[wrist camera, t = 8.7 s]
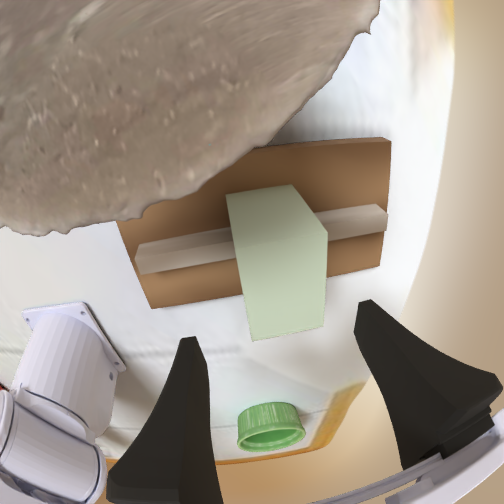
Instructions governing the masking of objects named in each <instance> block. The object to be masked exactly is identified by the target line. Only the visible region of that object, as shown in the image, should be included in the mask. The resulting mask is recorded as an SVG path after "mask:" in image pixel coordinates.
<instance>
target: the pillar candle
mask: <svg viewBox="0 0 504 504" xmlns="http://www.w3.org/2000/svg"><path fill="white" fill-rule="evenodd" d="M379 8H380V0H0V228H2V227H4V226H6V227H9V228H10V229H11V230H12V231H14V232H18V233H20V234H22V235H32V236H37V237H40V236H46V235H47V234H49V233H50V232H51V231H58V232H59V233H61V234H68V233H69V232H70V230H71V229H73V228H77V227H85V226H89V225H92V224H99V223H105V222H111V221H116V220H118V221H125V222H127V221H129V220H131V219H141V218H142V217H143V212H144V211H145V210H146V209H147V208H148V207H149V206H151V205H154V204H158V203H160V202H162V201H166V200H178V199H181V198H183V197H185V196H187V195H190V194H192V193H195V192H197V191H198V190H199V189H200V188H201V187H202V186H203V185H204V184H205V183H206V182H207V181H208V180H209V179H211V178H213V177H214V176H215V175H217V174H218V173H219V172H221V171H223V170H225V169H227V168H228V167H230V166H232V165H233V164H234V163H235V162H237V161H238V160H239V159H240V158H241V157H243V156H244V155H245V154H247V153H248V152H249V151H251V150H252V149H253V148H255V147H258V146H259V147H264V146H266V145H267V144H268V143H269V142H270V141H271V140H272V139H273V138H274V136H275V135H276V134H277V133H278V132H279V130H280V129H281V128H283V126H284V125H285V124H286V123H287V122H288V121H289V120H290V119H291V118H292V117H293V116H294V115H295V114H296V113H297V112H299V111H300V110H301V109H302V108H303V106H304V105H305V104H306V102H307V101H308V100H309V99H310V98H311V97H313V96H314V95H315V94H316V93H317V92H318V90H320V89H322V88H323V86H324V85H325V84H326V83H327V82H329V81H330V80H331V79H332V75H333V74H334V72H335V71H336V69H337V68H338V66H339V63H340V62H341V61H342V59H343V58H344V56H345V54H346V53H347V51H348V50H349V48H350V45H351V43H352V41H353V39H354V37H355V36H356V35H358V34H360V33H364V32H366V33H368V34H370V35H371V33H370V24H371V22H372V20H373V19H374V18H375V17H376V16H377V15H378V14H379Z"/></svg>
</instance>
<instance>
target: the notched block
mask: <svg viewBox="0 0 504 504" xmlns="http://www.w3.org/2000/svg"><path fill="white" fill-rule="evenodd" d="M226 201H227V207H228V213H229V218H230V224H231V230H232V236H233V241H234V247H235V253H236V258H237V264H238V269H239V275H240V280H241V285H242V291H243V296H244V302H245V307H246V312H247V317H248V323H249V328H250V333H251V338H252V341H257V340H262V339H268V338H273V337H278V336H282V335H287V334H292V333H296V332H301V331H305V330H310V329H314V328H318V327H323V324H324V309H325V293H326V272H327V240H328V232H327V231H326V229H325V228H324V227H323V225H322V224H321V223H320V221H319V220H318V218H317V217H316V216H315V214H314V213H313V212H312V210H311V209H310V208H309V206H308V205H307V204H306V202H305V201H304V200H303V198H302V197H301V196H300V194H299V193H298V192H297V190H296V189H295V188H294V186H293V185H292V184H289V185H282V186H275V187H268V188H262V189H256V190H250V191H244V192H238V193H232V194H226Z"/></svg>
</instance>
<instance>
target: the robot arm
mask: <svg viewBox="0 0 504 504" xmlns="http://www.w3.org/2000/svg"><path fill="white" fill-rule="evenodd" d="M84 312H85V313H84ZM21 315H22V317H23V318H24V320H25V321H26V323H27V324H28V326H29V327H30V328H31V330H32V331H33V332H32V334H31V336H30V339H29V341H28V343H27V346H26V348H25V350H24V353H23V355H22V358H21V360H20V363H19V366H18V368H17V371H16V374H15V376H14V379H13V382H12V385H11V388H10V391H9V392H7V391H6V390H1V391H0V504H94V503H95V502H96V501H97V499H98V498H99V497H100V495H101V494H102V492H103V490H104V488H105V485H106V481H107V490H106V499H107V500H108V501H109V502H112V503H114V504H223V499H222V495H221V491H220V486H219V481H218V477H217V472H216V466H215V460H214V454H213V448H212V441H211V432H210V389H209V377H208V369H207V363H206V360H205V358H204V356H203V353H202V351H201V348H200V346H199V343H198V341H197V338H196V336H193V337H187V338H182V339H181V340H180V342H179V346H178V349H177V353H176V356H175V359H174V362H173V365H172V368H171V370H170V373H169V375H168V378H167V381H166V383H165V386H164V388H163V390H162V392H161V395H160V397H159V399H158V401H157V403H156V405H155V407H154V409H153V411H152V413H151V415H150V416H149V418H148V420H147V422H146V423H145V425H144V427H143V428H142V430H141V431H140V433H139V434H138V436H137V437H136V439H135V440H134V441H133V443H132V444H131V445H130V447H129V448H128V450H127V451H126V452H125V453H124V455H123V456H122V457H121V458H120V459H119V460H118V462H117V463H116V464H115V465H114V466H113V467H112V468H111V469H110V470H109V472H108V478H107V466H106V460H105V457H104V454H103V452H102V450H101V449H100V447H99V446H98V445H97V444H95V439H96V438H98V437H99V436H101V435H102V434H103V433H104V432H105V430H106V429H107V427H108V425H109V423H110V421H111V416H112V408H113V401H114V394H115V387H116V381H117V375H118V372H124V371H126V366H125V365H124V363H123V362H122V360H121V359H120V358H119V356H118V355H117V353H116V352H115V350H114V349H113V347H112V346H111V344H110V343H109V341H108V340H107V338H106V337H105V335H104V334H103V332H102V331H101V329H100V327H99V326H98V324H97V323H96V321H95V319H94V318H93V316H92V314H91V313H90V311H89V309H88V307H87V306H86V305H85V304H84V303H82V302H76V303H69V304H62V305H55V306H48V307H41V308H34V309H27V310H23V311H22V313H21ZM354 335H355V337H356V340H357V343H358V346H359V348H360V351H361V353H362V355H363V357H364V359H365V361H366V363H367V365H368V367H369V369H370V371H371V373H372V375H373V376H374V378H375V380H376V382H377V384H378V386H379V388H380V391H381V393H382V395H383V398H384V401H385V403H386V406H387V409H388V412H389V415H390V419H391V422H392V425H393V428H394V432H395V437H396V440H397V445H398V450H399V455H400V460H401V465H402V468H403V471H402V472H400V473H397V474H395V475H393V476H390V477H388V478H385V479H383V480H381V481H378V482H375V483H373V484H370V485H368V486H365V487H362V488H359V489H356V490H353V491H350V492H347V493H344V494H342V495H338V496H334V497H331V498H328V499H324V500H320V501H316V502H312V503H308V504H357V503H360V502H363V501H366V500H369V499H371V498H374V497H376V496H379V495H381V494H384V493H386V492H389V491H391V490H393V489H395V488H398V487H400V486H402V485H404V484H407V483H408V482H410V481H413V480H415V479H417V478H418V479H417V480H416V483H415V484H414V485H412V486H410V487H408V488H406V489H404V490H402V491H400V492H398V493H396V494H394V495H392V496H389V497H388V498H386V499H385V501H386V504H453V503H454V502H456V501H457V500H459V499H460V498H462V497H463V496H464V495H466V494H467V493H468V492H470V491H471V490H472V489H474V488H475V487H476V486H477V485H479V484H480V483H481V482H482V481H484V479H486V478H487V477H488V476H490V475H491V474H492V473H493V472H494V471H495V470H496V469H497V468H499V467H500V466H501V465H502V464H503V463H504V408H503V409H501V410H500V411H499V412H497V413H496V414H495V415H494V416H492V417H490V414H489V413H490V412H491V408H490V407H489V405H490V404H491V403H492V402H493V401H494V400H495V399H496V398H497V397H498V396H499V394H500V393H501V392H502V390H503V386H502V384H501V383H500V381H499V380H498V378H497V377H496V375H495V374H493V373H490V372H487V371H483V370H480V369H477V368H474V367H472V366H469V365H467V364H464V363H462V362H460V361H457V360H456V359H454V358H451V357H450V356H447V355H445V354H444V353H442V352H440V351H438V350H437V349H435V348H434V347H432V346H430V345H429V344H427V343H426V342H424V341H422V340H421V339H420V338H418V337H417V336H416V335H414V334H413V333H411V332H410V331H409V330H408V329H406V328H405V327H404V326H403V325H401V324H400V323H399V322H398V321H396V320H395V319H394V318H393V317H392V316H390V315H389V314H388V313H387V312H386V311H384V310H383V309H382V308H381V307H380V306H378V305H377V304H376V303H375V302H374V301H372V300H371V299H370V300H366V301H362V302H359V305H358V311H357V317H356V322H355V328H354Z"/></svg>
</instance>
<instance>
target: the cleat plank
mask: <svg viewBox="0 0 504 504" xmlns="http://www.w3.org/2000/svg"><path fill="white" fill-rule="evenodd" d="M390 163H391V141H390V140H387V139H385V138H383V137H373V138H352V139H336V140H323V141H312V142H302V143H292V144H284V145H275V146H268V147H260V148H253V149H252V150H251V151H249V152H248V153H247V154H245V155H244V156H243V157H241V158H240V159H239V160H238V161H237V162H235V163H234V164H233V165H232V166H230V167H228V168H227V169H225V170H223V171H221V172H219V173H218V174H217V175H215V176H214V177H213V178H211V179H209V180H208V181H207V182H206V183H205V184H204V185H203V186H202V187H201V188H200V189H199V190H198V191H197V192H195V193H192V194H190V195H187V196H185V197H183V198H181V199H178V200H166V201H162V202H160V203H158V204H154V205H151V206H149V207H148V208H147V209H146V210H145V211H144V212H143V217H142V218H141V219H131V220H129V221H127V222H125V221H118V220H116V223H117V225H118V228H119V231H120V234H121V236H122V239H123V242H124V244H125V247H126V250H127V252H128V255H129V257H130V260H131V262H132V265H133V267H134V270H135V272H136V275H137V277H138V279H139V282H140V284H141V286H142V289H143V291H144V293H145V296H146V298H147V300H148V302H149V305H150V307H151V309H156V308H163V307H169V306H176V305H182V304H188V303H194V302H200V301H206V300H212V299H218V298H224V297H229V296H235V295H241V294H243V291H242V285H241V280H240V275H239V269H238V264H237V258H236V253H235V247H234V241H233V236H232V230H231V224H230V218H229V213H228V207H227V201H226V194H232V193H238V192H244V191H250V190H256V189H262V188H268V187H275V186H282V185H289V184H292V185H293V186H294V188H295V189H296V190H297V192H298V193H299V194H300V196H301V197H302V198H303V200H304V201H305V202H306V204H307V205H308V206H309V208H310V209H311V210H312V212H313V213H314V214H315V216H316V217H317V218H318V220H319V221H320V223H321V224H322V225H323V227H324V228H325V229H326V231H327V232H328V240H327V272H326V278H327V277H332V276H337V275H341V274H346V273H351V272H355V271H360V270H364V269H368V268H373V267H377V266H379V265H380V259H381V252H382V246H383V238H384V231H386V229H387V220H388V214H387V204H388V193H389V180H390Z"/></svg>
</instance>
